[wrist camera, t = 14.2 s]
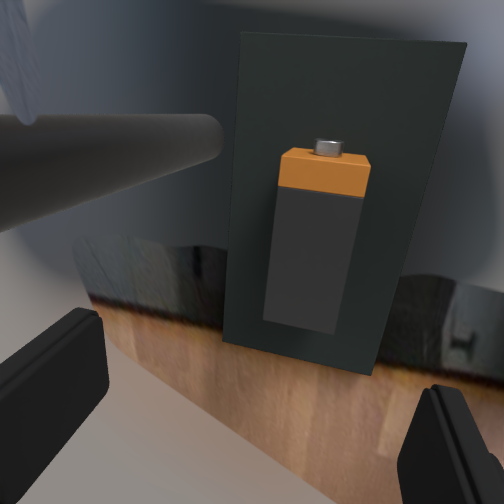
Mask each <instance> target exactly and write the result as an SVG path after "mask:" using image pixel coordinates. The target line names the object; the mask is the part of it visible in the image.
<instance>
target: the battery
mask: <svg viewBox="0 0 504 504" xmlns="http://www.w3.org/2000/svg"><path fill="white" fill-rule="evenodd" d="M343 148H344V142H343V141H340V140H333V139H322V138H317V139H315V141H314V147H313V150H312V149H303V148H292V149H290V150H289V151H287V152H286V153H285V154H283V155H282V156H281V163H280V172H279V181H278V189H277V198H276V206H275V215H274V224H273V233H272V242H271V250H270V259H269V268H268V277H267V285H266V294H265V303H264V312H263V320H266V321H271V322H275V323H280V324H285V325H289V326H294V327H298V328H303V329H308V330H312V331H317V332H322V333H326V334H331V335H334V333H335V328H336V324H337V319H338V314H339V310H340V305H341V301H342V296H343V292H344V287H345V283H346V278H347V273H348V269H349V264H350V260H351V255H352V251H353V246H354V242H355V237H356V232H357V228H358V223H359V219H360V214H361V210H362V205H363V201H364V196H365V191H366V187H367V182H368V178H369V173H370V169H371V166H370V164H369V162H368V160H367V158H366V156H365V155H356V154H348V153H343Z"/></svg>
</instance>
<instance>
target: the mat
mask: <svg viewBox="0 0 504 504" xmlns="http://www.w3.org/2000/svg"><path fill="white" fill-rule="evenodd" d="M466 47H467V43H466V42H464V43H463V42H445V41H423V40H402V39H382V38H361V37H360V38H359V37H340V36H318V35H298V34H277V33H256V32H241V34H240V51H239V66H238V84H237V101H236V118H235V135H234V151H233V169H232V185H231V202H230V219H229V238H228V253H227V270H226V287H225V303H224V320H223V337H222V341H223V342H227V343H232V344H236V345H240V346H244V347H249V348H253V349H257V350H261V351H266V352H270V353H274V354H279V355H283V356H287V357H291V358H296V359H300V360H304V361H309V362H313V363H317V364H321V365H326V366H330V367H334V368H338V369H343V370H347V371H351V372H356V373H360V374H364V375H368V376H371V374H372V371H373V367H374V364H375V360H376V357H377V354H378V350H379V347H380V343H381V340H382V336H383V333H384V329H385V326H386V323H387V319H388V316H389V312H390V309H391V305H392V302H393V298H394V295H395V292H396V288H397V285H398V281H399V278H400V274H401V271H402V267H403V264H404V260H405V257H406V253H407V250H408V247H409V243H410V240H411V236H412V233H413V230H414V226H415V223H416V219H417V216H418V212H419V209H420V205H421V202H422V198H423V195H424V192H425V188H426V185H427V181H428V178H429V174H430V171H431V168H432V164H433V160H434V157H435V154H436V150H437V147H438V143H439V140H440V137H441V133H442V130H443V126H444V123H445V119H446V116H447V112H448V109H449V106H450V102H451V99H452V95H453V92H454V88H455V85H456V81H457V77H458V74H459V71H460V68H461V64H462V61H463V57H464V54H465V50H466ZM317 138H322V139H333V140H340V141H343V142H344V148H343V153H348V154H356V155H365V156H366V158H367V160H368V162H369V164H370V166H371V169H370V173H369V178H368V182H367V187H366V191H365V196H364V201H363V205H362V210H361V214H360V219H359V223H358V228H357V232H356V237H355V242H354V246H353V251H352V255H351V260H350V264H349V269H348V273H347V278H346V283H345V287H344V292H343V296H342V301H341V305H340V310H339V314H338V319H337V324H336V328H335V333H334V335H331V334H326V333H322V332H317V331H312V330H308V329H303V328H298V327H294V326H289V325H285V324H280V323H275V322H271V321H266V320H263V312H264V303H265V294H266V285H267V277H268V268H269V259H270V250H271V242H272V233H273V224H274V215H275V206H276V198H277V189H278V181H279V172H280V163H281V156H282V155H283V154H285V153H286V152H287V151H289V150H290V149H292V148H303V149H312V150H313V147H314V141H315V139H317Z"/></svg>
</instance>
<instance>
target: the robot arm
mask: <svg viewBox="0 0 504 504" xmlns="http://www.w3.org/2000/svg"><path fill="white" fill-rule="evenodd" d="M108 388H109V374H108V366H107V357H106V348H105V339H104V330H103V321H102V318H101V317H99V315H98V313H97V312H96V311H94V310H89V309H84V308H79V307H78V308H75V309H73V310H72V311H71V312H69V313H68V314H66V315H65V316H64V317H62V318H61V319H60V320H59V321H57V322H56V323H55V324H53V325H52V326H50V327H49V328H48V329H46V330H45V331H44V332H42V333H41V334H40V335H38V336H37V337H36V338H34V339H33V340H32V341H30V342H29V343H28V344H26V345H25V346H24V347H22V348H21V349H20V350H18V351H17V352H16V353H14V354H13V355H12V356H10V357H9V358H8V359H6V360H5V361H4V362H2V363H1V364H0V504H16V503H17V502H18V501H19V500H20V499H21V498H22V497H23V495H24V494H25V493H26V492H27V490H28V489H29V488H30V487H31V486H32V484H33V483H34V482H35V481H36V479H37V478H38V477H39V476H40V474H41V473H42V472H43V471H44V470H45V468H46V467H47V466H48V465H49V464H50V462H51V461H52V460H53V459H54V457H55V456H56V455H57V454H58V452H59V451H60V450H61V449H62V448H63V446H64V445H65V444H66V443H67V441H68V440H69V439H70V438H71V437H72V435H73V434H74V433H75V432H76V430H77V429H78V428H79V427H80V426H81V424H82V423H83V422H84V421H85V419H86V418H87V417H88V416H89V414H90V413H91V412H92V411H93V410H94V408H95V407H96V406H97V405H98V403H99V402H100V401H101V400H102V399H103V397H104V396H105V395H106V393H107V391H108ZM397 472H398V478H399V484H400V490H401V496H402V501H403V504H504V469H503V467H502V465H501V464H500V462H499V460H498V459H497V458H496V457H495V456H494V455H493V454H491V453H489V452H488V450H487V447H486V445H485V443H484V441H483V439H482V436H481V434H480V432H479V430H478V428H477V425H476V423H475V421H474V419H473V417H472V414H471V412H470V410H469V408H468V405H467V403H466V401H465V399H464V397H463V394H462V393H461V391H460V390H459V389H455V388H451V387H446V386H442V385H437V384H434V385H432V387H431V389H428V388H425V389H424V390H423V392H422V395H421V397H420V400H419V403H418V405H417V408H416V411H415V413H414V416H413V419H412V421H411V424H410V427H409V429H408V432H407V435H406V437H405V440H404V443H403V445H402V448H401V451H400V453H399V456H398V460H397Z"/></svg>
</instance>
